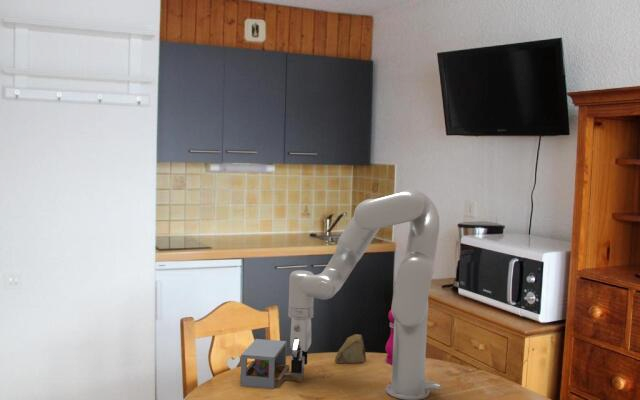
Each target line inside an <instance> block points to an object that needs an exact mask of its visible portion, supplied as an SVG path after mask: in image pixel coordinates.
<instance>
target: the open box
mask: <svg viewBox="0 0 640 400" xmlns="http://www.w3.org/2000/svg"><path fill="white" fill-rule="evenodd" d="M240 358H241V359H240V376H241V383H240V387H247V388H260V389H269V390H270V389H271V390H274V389H275V386H274V378H275V372H276V371H275V364H281V365H287V340H277V339H276V340H275V339H262V338H255V339H254V341H253V342H252V343H250V344H249V345H248V347H247V348H245V350H244V351H243V352H242V353H241V355H240ZM257 359H260V360H269V377H266V376H263V377H259V376H257V375H250V376H247V367H248V360H254V361H256V360H257Z"/></svg>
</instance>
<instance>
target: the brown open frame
mask: <svg viewBox="0 0 640 400" xmlns="http://www.w3.org/2000/svg"><path fill="white" fill-rule="evenodd" d="M301 360H302V373H301V374H299V373H291V372H290V368H291V364H286V365H281V364H275V369H276V371H275V372H279V373H280V372H281V373H280V374H279V375H278V377H277V378H276V377H274V387H281V386H282V383H283V382H284V381H293V382H295V381H296V382H303V381H304V380H303V379H304V378H303V377H304V375H305V365H304V360H305V357H304V356H302V357H301ZM252 365H254V366H255V365H256V361H255V360H253V361H252V362H250V363H249V365H247V376H252V374H253V372H254V371H256V370H255V369H254V368H253V367H252ZM239 381H240V384H241V375H240V380H239Z"/></svg>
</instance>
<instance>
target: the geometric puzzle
mask: <svg viewBox="0 0 640 400" xmlns="http://www.w3.org/2000/svg"><path fill="white" fill-rule="evenodd" d="M252 367H253V368H254V369H255V370H254V371H255V373H254V375H256V376H259V377H269V360H260V359H257V360H256V365H255V366H254V365H252ZM275 372H277V371H276V369H275ZM256 373H257V374H256Z"/></svg>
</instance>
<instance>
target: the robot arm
mask: <svg viewBox="0 0 640 400" xmlns="http://www.w3.org/2000/svg"><path fill="white" fill-rule="evenodd" d="M408 222H409V232H408V235H407V242H406V243H407V244H406V246H405V247H406V248H405V253H404V256H403V258H402V260H401V262H400V263H399V266H398V270H397V273H396V280H395V285H394V291H393V295H392V301H391V309H390V310H392V315H393V317H394V319H395V321H394V339H393V363H392V364H391V366H392V368H391V383H389V384H387V385H386V386H385V387H386V388H385V392H386V393H387V394H388V395H389V396H391V397H393V398H395V399H400V400H423V399H426V398H428V397H429V396H430V390H432V391H440V390H441V384H440V383H437V382H436V381H432V380H430V381H429V380H428V379H426V378H427V376H426V355H427V353H426V352H427V333H428V317H429V295H430V290H431V284H432V279H433V274H434V272H435V258H436V253H437V246H438V241H439V235H440V233H439V232H440V215H439V212H438V209H437V206H436V205H435V203H434V202H433V201H432V199H431V198H430V197H429V196H428V195H427V194H425V193H424V192H422V191H421V190H419V189H416V188H407V189H405V190H403V191H400V192H397V193H393V194H390V195H389V194H388V195H386V196H382V197H377V198H367V199H365V200H363V201H361V202H359V204H357V205H356V207H355V209H354V212H353V216H352V218H350V221H349V223H348V224H347V225H346V226H345V228H344V229H343V232H342V233H341V235H340V236H339V238H338V241H337V243H336V244H337V246H336V249H335V251H334V253H333V255H332V256H331V258H330V260H329V261H328V263H327V264H326V266H325V268H324V269H323V270H322V272H321V273H317V274H314V273H313V271H310V270H304V269H303V270H298V269H297V270H293V271H292V272H291V273H290V275H289V279H288V281H289V282H288V283H289V284H288V285H289V286H288V313H287V314H288V317H289V318H290V319H291V323H290V337H289V339H290V344H289V345H290V350H291V351H292V353H291V359H290V360H291V362H290V363H291V364H290V373H299V374H301V373H302V360H301V357H302V356H304V357H305V360H304V366H306V365H307V364H308V350H309V348H310V347H311V344H312V318H314V303H315V302H314V301H315V299H319V300H328V299H332V298H333V297H334V296H335V295H336V294H337V293H338V292H339V291H340V290H341V288H342V287H343V285H344V283H346V281H347V279H348V278H349V276H350V275H351V273H352V271H353V270H354V268H355V267H356V265H357V263H358V262H359V261H360V260H361V259H362V257H363V256H364V254H365V252H366V250H367V249H368V247H369V246H370V244H371V243H372V241H373V240H374V238H375V237H376V235H377V234H378V232H379V231H380V229H384V228H387V227H388V228H389V227H391V226H395V225H400V224H404V223H408ZM314 298H315V299H314Z"/></svg>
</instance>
